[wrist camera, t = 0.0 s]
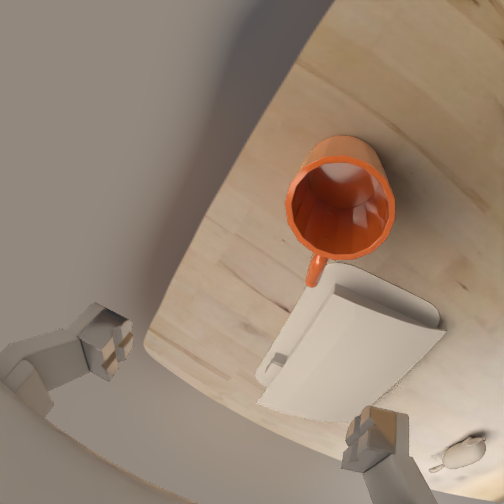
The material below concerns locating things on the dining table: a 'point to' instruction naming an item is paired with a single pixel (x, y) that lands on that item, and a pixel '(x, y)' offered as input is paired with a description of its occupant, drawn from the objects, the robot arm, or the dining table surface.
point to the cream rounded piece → (463, 454)
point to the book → (345, 346)
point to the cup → (340, 203)
